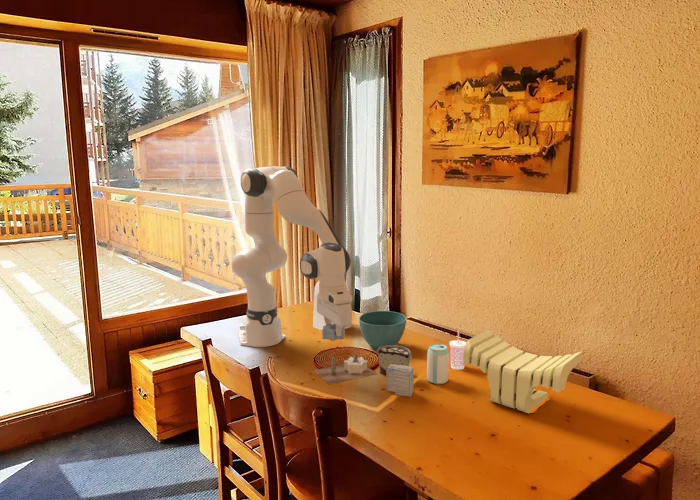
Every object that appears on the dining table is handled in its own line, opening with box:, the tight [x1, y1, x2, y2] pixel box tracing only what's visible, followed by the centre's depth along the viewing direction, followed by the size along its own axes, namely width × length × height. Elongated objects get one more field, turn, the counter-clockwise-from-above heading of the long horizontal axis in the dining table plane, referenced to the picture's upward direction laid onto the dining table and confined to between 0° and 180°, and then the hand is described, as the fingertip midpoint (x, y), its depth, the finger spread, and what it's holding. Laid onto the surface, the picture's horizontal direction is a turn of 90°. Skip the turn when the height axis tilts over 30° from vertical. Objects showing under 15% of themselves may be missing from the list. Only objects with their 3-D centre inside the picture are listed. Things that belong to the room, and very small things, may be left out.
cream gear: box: [343, 356, 368, 374], centre depth 188 cm, size 7×8×3 cm
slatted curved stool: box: [463, 329, 583, 414], centre depth 165 cm, size 30×16×18 cm, turn 47°
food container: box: [376, 344, 413, 376], centre depth 185 cm, size 12×6×10 cm, turn 65°
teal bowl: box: [358, 310, 407, 351], centre depth 211 cm, size 18×18×12 cm
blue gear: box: [321, 324, 346, 342], centre depth 182 cm, size 7×8×3 cm
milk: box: [312, 280, 352, 331], centre depth 235 cm, size 12×12×26 cm
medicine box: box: [386, 364, 414, 398], centre depth 172 cm, size 8×4×9 cm, turn 71°
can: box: [426, 343, 450, 385], centre depth 181 cm, size 7×7×12 cm
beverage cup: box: [448, 328, 467, 371], centre depth 192 cm, size 6×6×14 cm
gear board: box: [313, 352, 377, 385], centre depth 186 cm, size 13×18×7 cm
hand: (333, 332), depth 182 cm, fingers closed on blue gear, 6 cm apart
